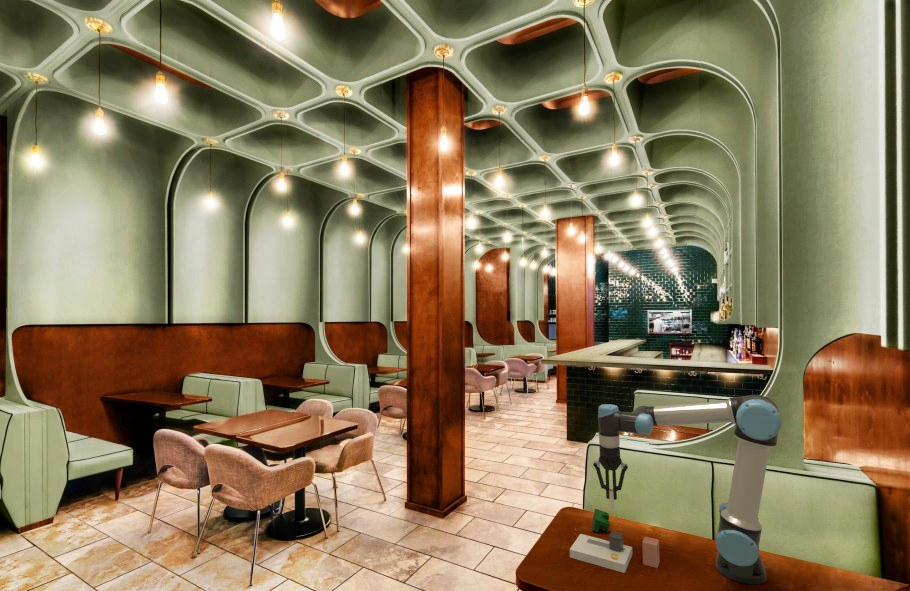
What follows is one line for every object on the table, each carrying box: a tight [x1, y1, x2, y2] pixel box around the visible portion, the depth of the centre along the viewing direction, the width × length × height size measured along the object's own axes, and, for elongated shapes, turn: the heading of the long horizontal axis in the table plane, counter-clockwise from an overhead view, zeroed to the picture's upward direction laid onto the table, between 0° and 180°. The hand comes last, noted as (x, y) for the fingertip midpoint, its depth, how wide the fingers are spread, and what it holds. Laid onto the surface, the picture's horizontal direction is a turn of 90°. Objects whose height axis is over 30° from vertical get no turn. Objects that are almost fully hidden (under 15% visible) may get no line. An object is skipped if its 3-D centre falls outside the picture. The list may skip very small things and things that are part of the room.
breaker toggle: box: [608, 530, 624, 552], centre depth 169 cm, size 4×5×5 cm
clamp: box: [591, 508, 611, 533], centre depth 191 cm, size 12×6×9 cm, turn 158°
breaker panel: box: [569, 533, 633, 574], centre depth 169 cm, size 20×14×4 cm
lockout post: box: [641, 536, 661, 569], centre depth 164 cm, size 5×5×8 cm
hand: (611, 507), depth 170 cm, fingers closed
